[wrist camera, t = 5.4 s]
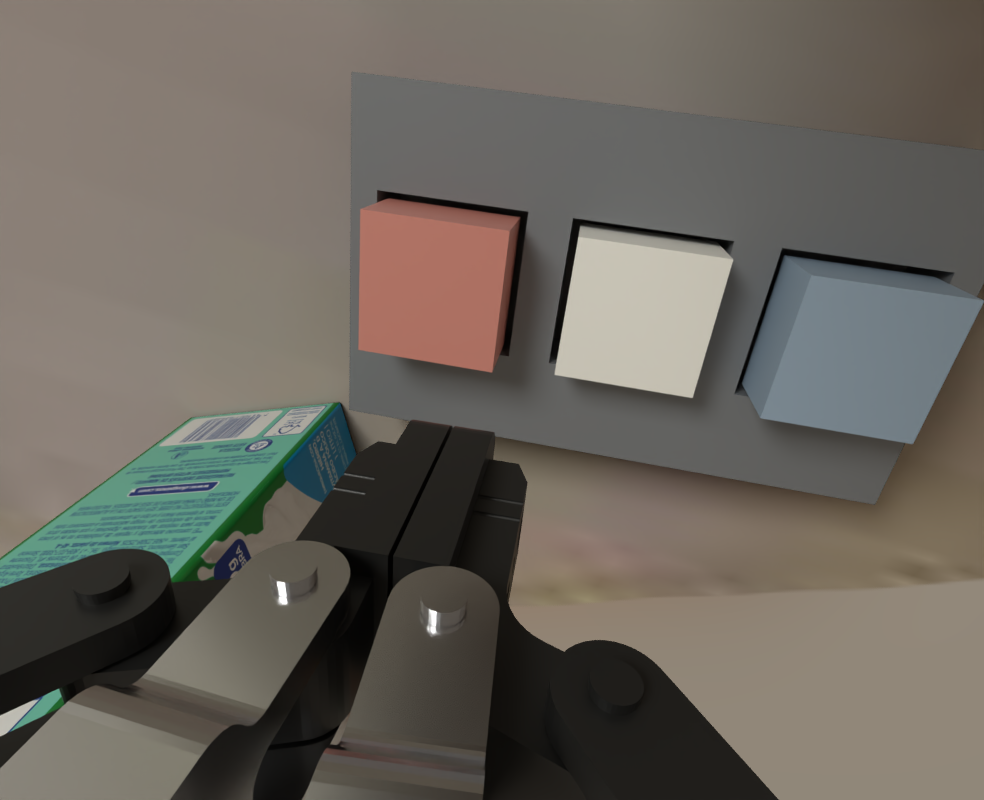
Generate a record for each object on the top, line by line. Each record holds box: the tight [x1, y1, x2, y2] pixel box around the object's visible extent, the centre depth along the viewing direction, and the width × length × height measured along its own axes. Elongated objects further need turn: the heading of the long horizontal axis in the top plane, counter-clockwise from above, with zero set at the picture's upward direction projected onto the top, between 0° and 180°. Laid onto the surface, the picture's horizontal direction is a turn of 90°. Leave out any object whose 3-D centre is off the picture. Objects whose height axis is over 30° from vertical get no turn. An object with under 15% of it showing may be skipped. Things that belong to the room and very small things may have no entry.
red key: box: [358, 198, 521, 372], centre depth 22 cm, size 5×5×3 cm
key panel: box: [349, 72, 984, 505], centre depth 24 cm, size 13×22×4 cm, turn 83°
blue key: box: [742, 255, 984, 444], centre depth 20 cm, size 5×5×3 cm
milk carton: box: [0, 402, 356, 736], centre depth 22 cm, size 9×9×25 cm
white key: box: [554, 222, 733, 398], centre depth 22 cm, size 5×5×3 cm
